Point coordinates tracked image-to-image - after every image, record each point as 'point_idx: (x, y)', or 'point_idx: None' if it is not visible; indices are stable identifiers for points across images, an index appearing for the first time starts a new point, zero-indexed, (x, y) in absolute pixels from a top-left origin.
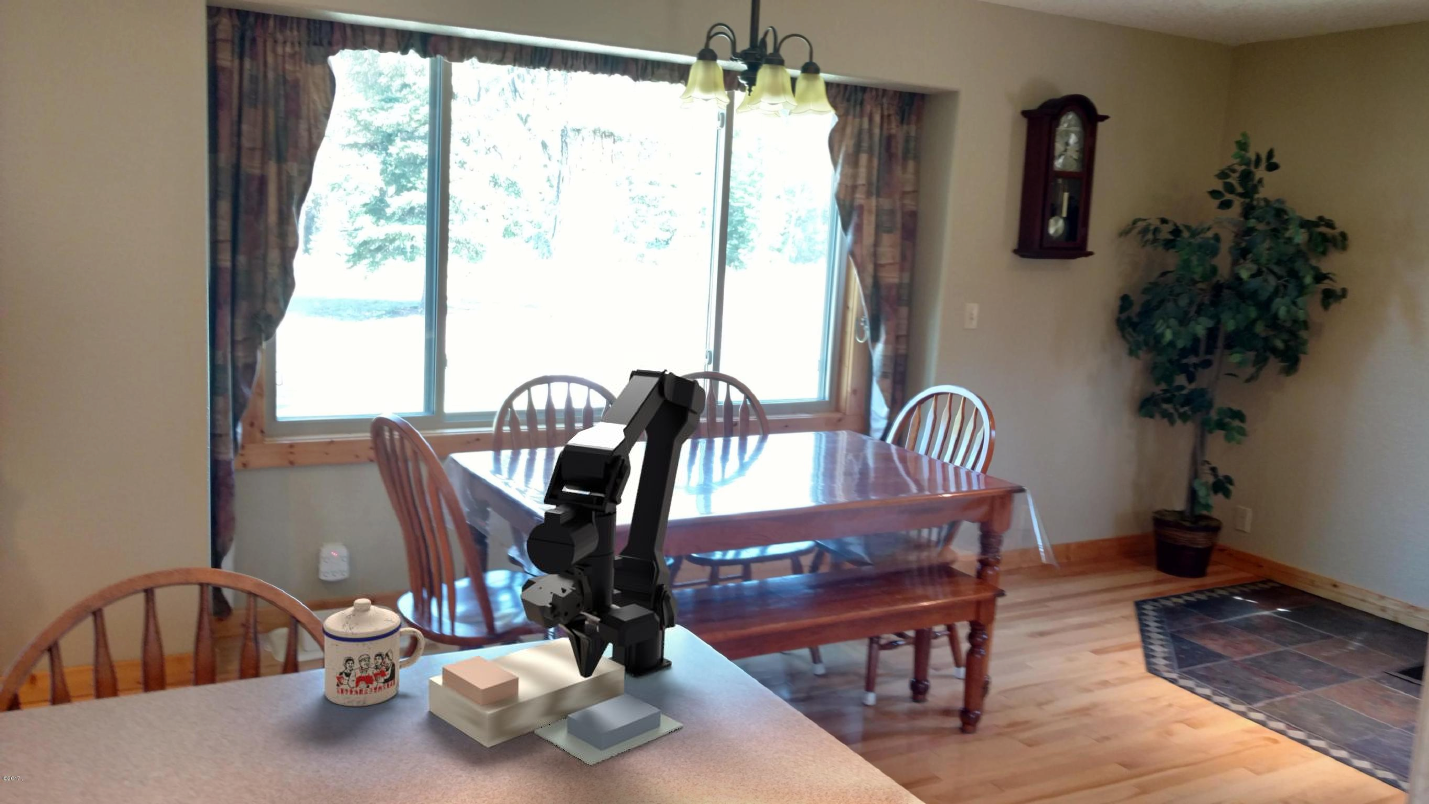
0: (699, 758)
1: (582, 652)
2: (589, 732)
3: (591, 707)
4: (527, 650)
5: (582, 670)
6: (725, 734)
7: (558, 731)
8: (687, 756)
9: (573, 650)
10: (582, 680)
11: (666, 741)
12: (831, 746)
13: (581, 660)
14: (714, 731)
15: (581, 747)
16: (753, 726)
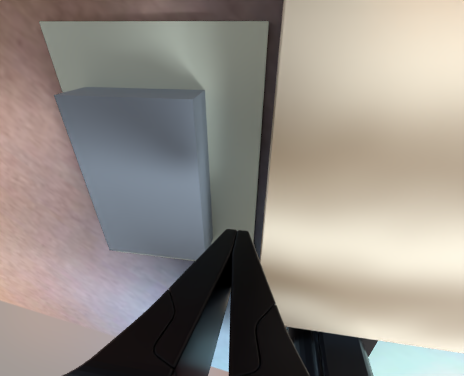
0: (19, 198)
1: (192, 300)
2: (107, 93)
3: (193, 175)
4: None
5: (229, 242)
6: (74, 264)
7: (218, 73)
8: (30, 191)
9: (267, 299)
10: (267, 232)
11: (87, 204)
12: (9, 301)
13: (218, 268)
14: (88, 262)
15: (118, 61)
16: (81, 293)
